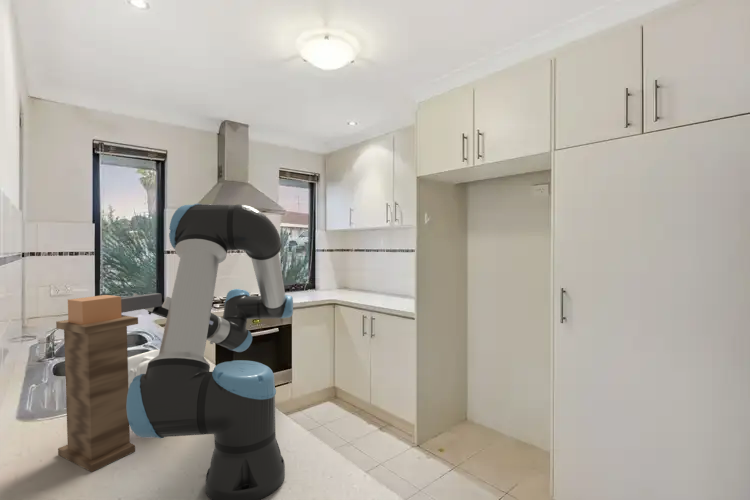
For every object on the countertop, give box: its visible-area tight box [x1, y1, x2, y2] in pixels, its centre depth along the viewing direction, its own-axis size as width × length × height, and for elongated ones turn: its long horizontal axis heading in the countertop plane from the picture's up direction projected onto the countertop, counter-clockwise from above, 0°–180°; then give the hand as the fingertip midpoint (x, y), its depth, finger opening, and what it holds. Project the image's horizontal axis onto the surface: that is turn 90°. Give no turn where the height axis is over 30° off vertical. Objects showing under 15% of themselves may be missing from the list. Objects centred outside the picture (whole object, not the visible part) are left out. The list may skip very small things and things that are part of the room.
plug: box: [67, 292, 163, 325], centre depth 94 cm, size 6×19×5 cm, turn 152°
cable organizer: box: [128, 349, 160, 389], centre depth 126 cm, size 15×11×12 cm
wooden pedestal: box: [55, 314, 139, 473], centre depth 90 cm, size 14×11×30 cm
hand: (148, 299), depth 100 cm, fingers open, 13 cm apart
